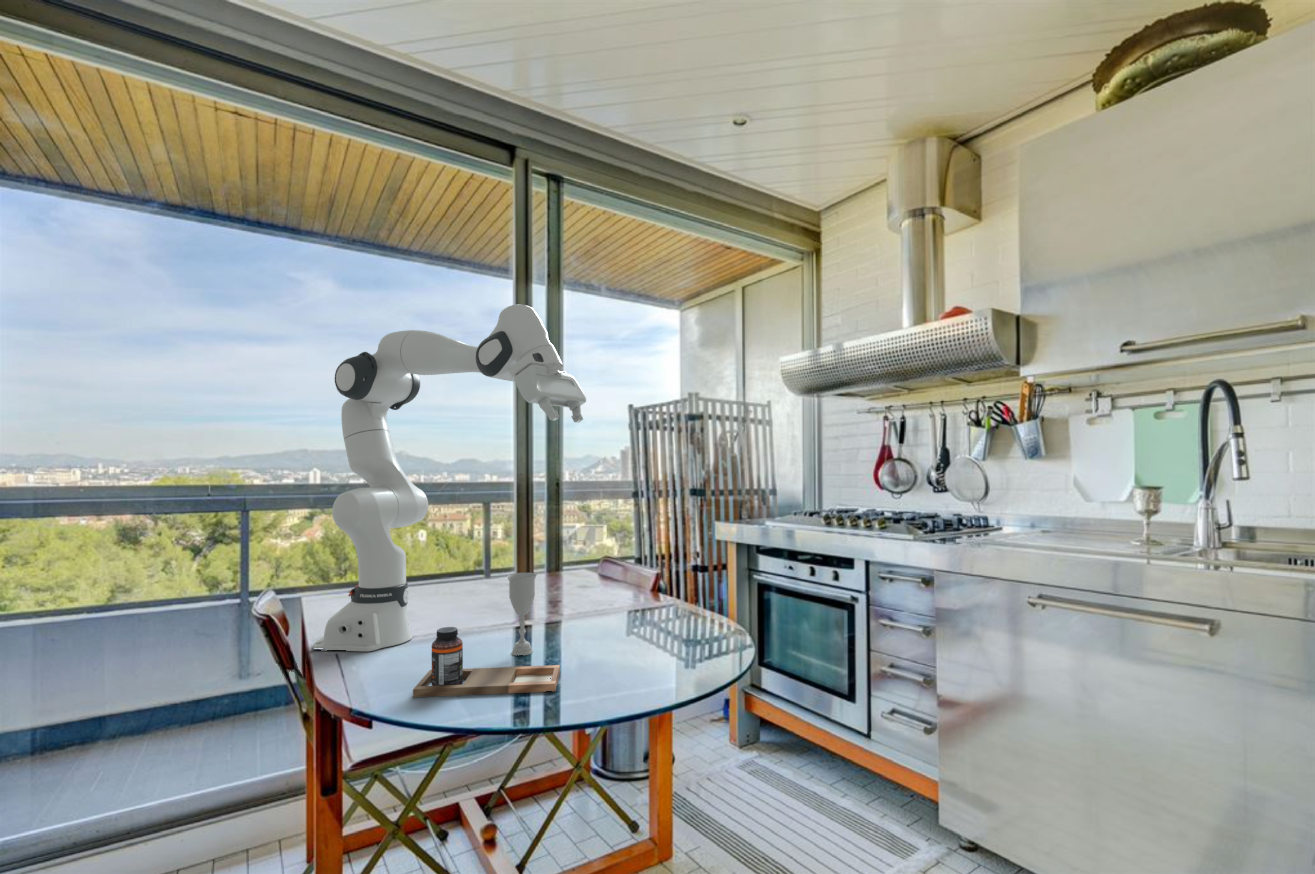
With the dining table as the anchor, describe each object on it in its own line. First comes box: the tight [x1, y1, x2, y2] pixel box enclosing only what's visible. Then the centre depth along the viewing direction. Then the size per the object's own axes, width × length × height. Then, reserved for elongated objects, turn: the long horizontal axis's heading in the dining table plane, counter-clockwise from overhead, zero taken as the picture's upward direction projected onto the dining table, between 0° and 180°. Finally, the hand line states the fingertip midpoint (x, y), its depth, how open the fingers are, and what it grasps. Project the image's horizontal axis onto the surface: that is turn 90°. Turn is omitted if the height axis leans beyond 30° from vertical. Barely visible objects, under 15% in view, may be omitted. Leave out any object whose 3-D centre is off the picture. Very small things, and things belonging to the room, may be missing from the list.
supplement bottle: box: [431, 626, 464, 686], centre depth 124 cm, size 6×6×11 cm
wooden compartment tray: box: [412, 664, 561, 698], centre depth 124 cm, size 27×11×2 cm, turn 94°
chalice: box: [506, 572, 538, 657], centre depth 145 cm, size 7×7×18 cm
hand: (567, 420), depth 135 cm, fingers open, 8 cm apart
